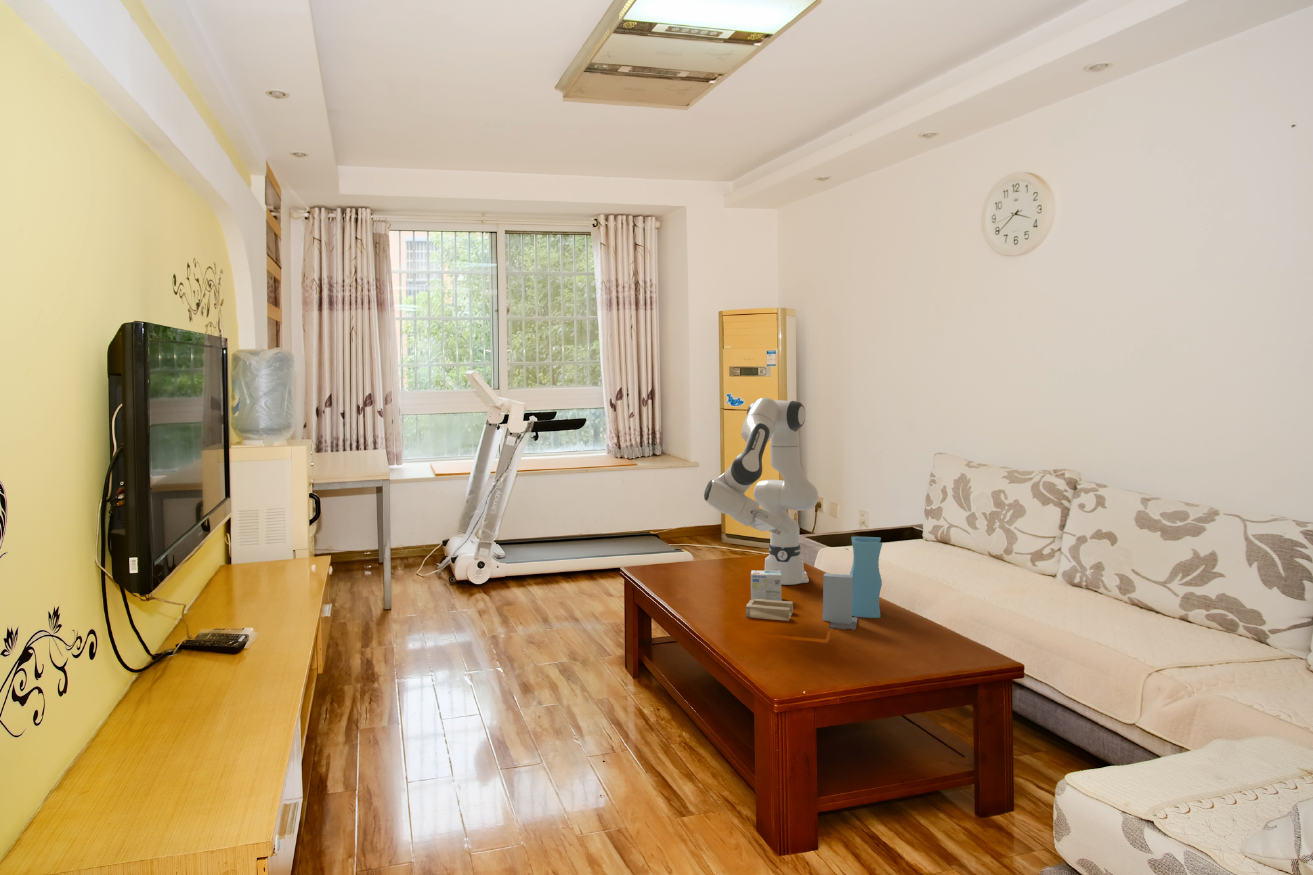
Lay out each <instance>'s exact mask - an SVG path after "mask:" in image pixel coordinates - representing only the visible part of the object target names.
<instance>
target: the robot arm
mask: <svg viewBox="0 0 1313 875" xmlns="http://www.w3.org/2000/svg"><path fill="white" fill-rule="evenodd" d="M805 422H806V408H805V406H804V405H803V404H802V403H801V402H799V401H796V400H791V401H790V400H785V399H784V400H783V399H782V400H781V399H775V400H773V399H772V398H769V397H761V398H758V399H756V401H753V402H751V403H750V404H749V406H748V407H747V411H746V416H745V419H744V421H743V422H742V427H741V431H740V432H741V433H740V434H741V435H740V436H741V437H742V439H743V441H744V442H746V444H745V446H744V447H745V448H744V450H743V451H742V452H741V453H739V454H738V455H737V456H736V457H735V459H734V460H733V461H732V463H731V464H730V465H729V467H728V468H727V469H726V470H725V472H723V473H722V474H721V475H719V476H718V477H716V478H714V479H711V480H710V481H708V483H707V485H706V487H705V490H704V494H703V497H704V501H705V502H706V504H708V505H709V506H711V507H712V508H714V509H715V510H717V511H718V512H720V513H722V514H724V515H727V516H730V518H732V519H733V520H734V521H736V522H738V523H739V524H741V525H743V526H745V527H748V526H749V527H751V528H752V529H755V530H757V531H759V532H769V533H770V534H769V535H770V536H769V537H770V539H769V540H770V541H769V542H770V543H769V546H768V556H766V557H765V559H764V571H781V585H783V586H785V585H790V586H791V585H799V584H805V583H806V584H807V583H809V582H810V581H809V580H810V579H809V577H808V574H807V571H806V570H805V568H804V560H803V558H802V557H801V545H800V525H799V523H798V522H797V521H796V519H794V518H792V517H791V516H790V515H789V513H788V511H787V510H792V511H799V512H800V511H809V510H813V509H814V508H815V507H816V505H817V503H818V501H819V492H818V490H817V488H816V486H815V485H814V484H812V483H811V481H809V479H808V478H807V477H806V475H805V474H804V471H803V468H802V465H801V464H802V463H801V455H800V454H801V453H800V450H801V449H800V434H799V430H800V429H801V428H802V427H803V426H804V424H805ZM769 441H770V442H769ZM768 442H769V443H770V444H769V448H770V449H769V450H770V458H769V459H770V465H771V467H772V468H773V469H774V470H775V471H777V472H778V473H779V474H780V475H781V476H782V478H783V480H782V479H781V480H780V479H765V480H760V478H761V476H762V473H763V455H764V453H765V452H764V451H765V449H766V446H767V444H768ZM758 480H759V481H758ZM757 481H758V482H757ZM756 482H757V483H756ZM754 483H756V484H755V486H754V489H753V498H754V500H753V499H752V498H751V497H748V496H747V495H745V493H746V492H747V491H748V490H749V489H750V487H751V486H752V485H753V484H754Z"/></svg>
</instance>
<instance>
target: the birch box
mask: <svg viewBox="0 0 1313 875" xmlns="http://www.w3.org/2000/svg"><path fill="white" fill-rule="evenodd" d="M793 607H794V601H789V600H787V601H786V600H781V601H777V600H765V599H752V598H751V597H750V599H749V601H748V603H746V606H745V618H753V619H764V620H773V621H774V620H775V621H777V620H778V621H790V619H791V617H792V615H793V612H794V608H793Z"/></svg>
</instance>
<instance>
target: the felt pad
mask: <svg viewBox="0 0 1313 875" xmlns="http://www.w3.org/2000/svg"><path fill="white" fill-rule="evenodd" d="M858 619H859V617H852V623H851V624H844V623H832V622H831V621H829V626H828V629H835V628H836V630H837V629H838V630H846V629H852V630H851V631H856V629H857V624H858Z"/></svg>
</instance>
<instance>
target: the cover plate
mask: <svg viewBox="0 0 1313 875" xmlns="http://www.w3.org/2000/svg"><path fill="white" fill-rule="evenodd" d="M822 582H823V584H822V586H823V587H822V589H823V591H822V592H823V593H822V621H823V622H832V623H844V624H851V623H852V596H853V575H850V574H839V573H829V572H828V573H826V572H825V573H824V574H823V581H822Z"/></svg>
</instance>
